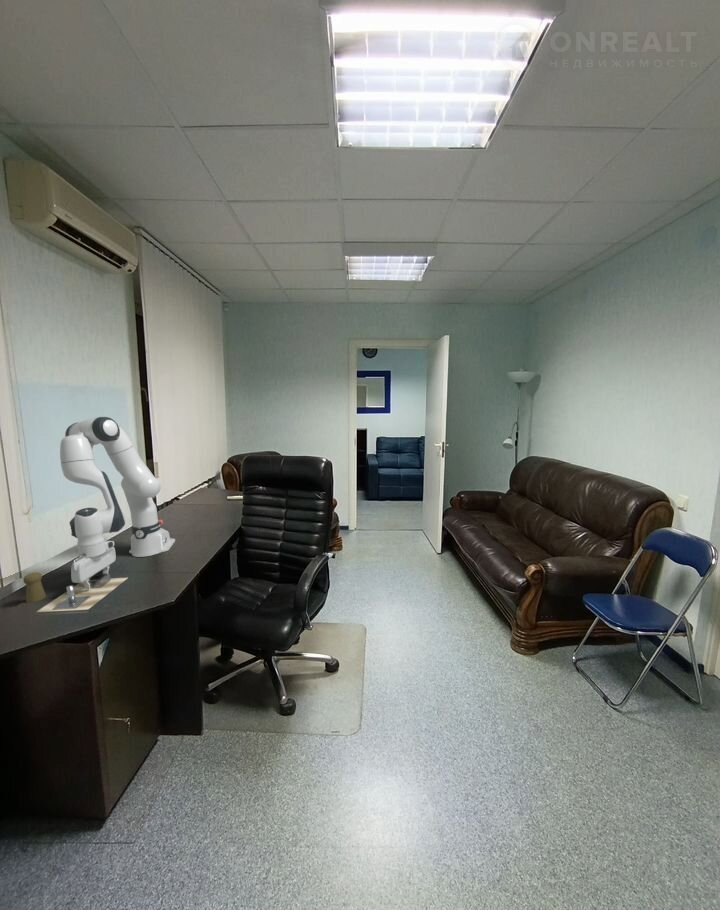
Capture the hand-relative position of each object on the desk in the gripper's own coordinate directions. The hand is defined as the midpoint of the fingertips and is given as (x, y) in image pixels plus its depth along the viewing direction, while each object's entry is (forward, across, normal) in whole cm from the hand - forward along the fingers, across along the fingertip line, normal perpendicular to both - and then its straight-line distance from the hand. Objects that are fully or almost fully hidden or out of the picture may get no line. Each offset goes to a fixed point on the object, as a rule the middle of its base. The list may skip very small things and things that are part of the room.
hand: (97, 582), depth 149 cm
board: (+2, -7, 0) cm, 7 cm away
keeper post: (+1, -14, -1) cm, 14 cm away
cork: (+2, -10, +16) cm, 19 cm away
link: (+1, 0, 0) cm, 1 cm away
